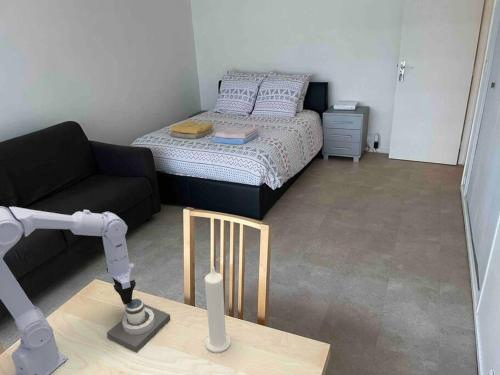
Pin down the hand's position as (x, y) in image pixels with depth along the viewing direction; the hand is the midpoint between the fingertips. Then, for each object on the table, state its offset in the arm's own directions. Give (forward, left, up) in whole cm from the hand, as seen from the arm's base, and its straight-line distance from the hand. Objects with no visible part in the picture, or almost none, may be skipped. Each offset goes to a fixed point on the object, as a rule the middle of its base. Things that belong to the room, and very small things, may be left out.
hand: (124, 295), depth 110 cm
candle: (+5, -28, -10) cm, 30 cm away
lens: (-1, -5, -7) cm, 9 cm away
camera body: (-1, -5, -9) cm, 11 cm away
